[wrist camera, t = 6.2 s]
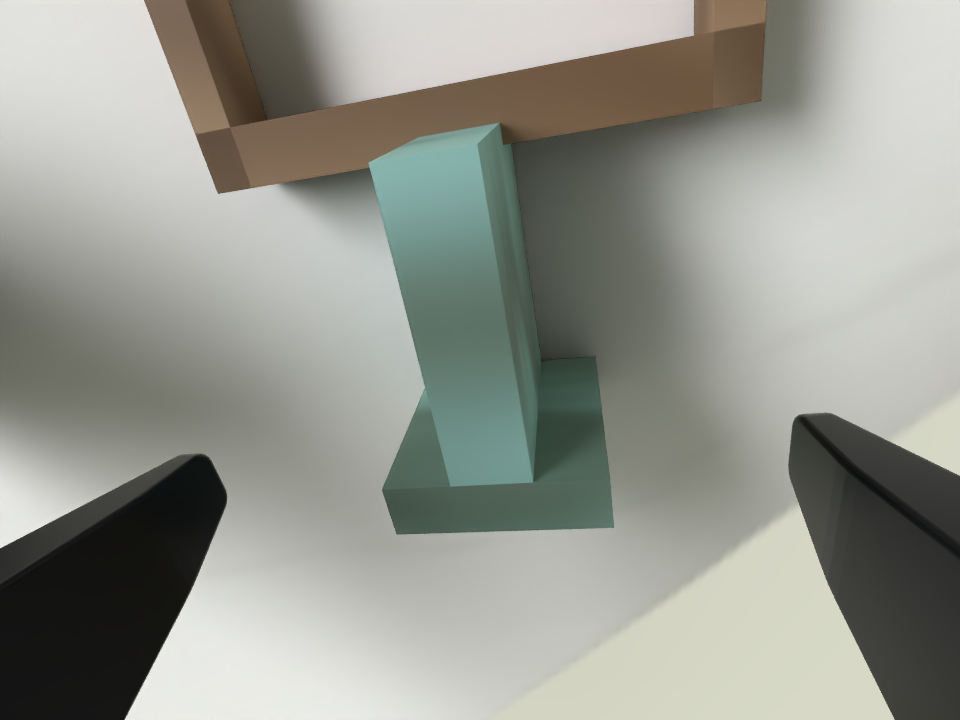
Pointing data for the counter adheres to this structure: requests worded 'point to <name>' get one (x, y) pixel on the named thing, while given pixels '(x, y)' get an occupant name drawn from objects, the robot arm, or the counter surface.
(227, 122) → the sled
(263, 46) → the counter surface
